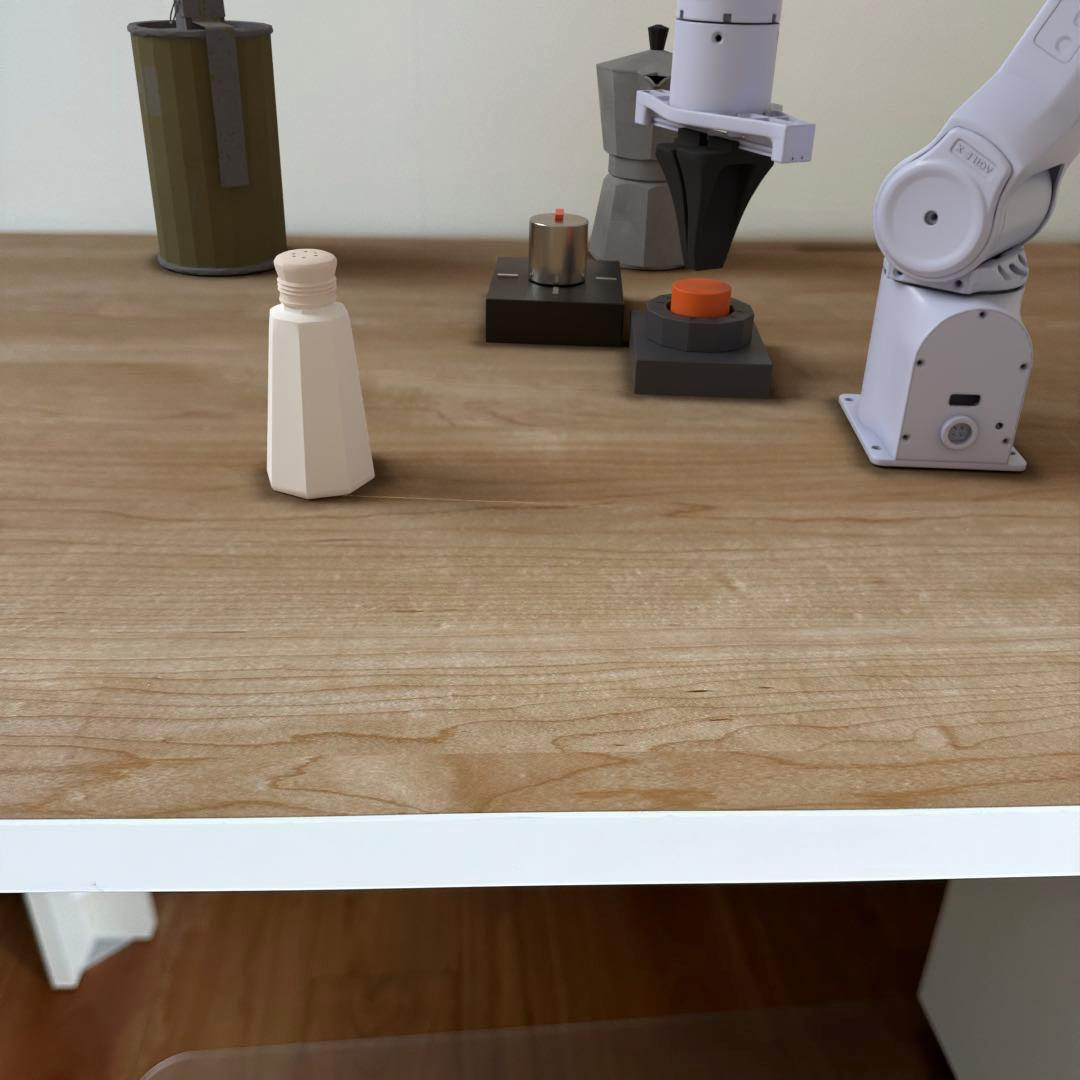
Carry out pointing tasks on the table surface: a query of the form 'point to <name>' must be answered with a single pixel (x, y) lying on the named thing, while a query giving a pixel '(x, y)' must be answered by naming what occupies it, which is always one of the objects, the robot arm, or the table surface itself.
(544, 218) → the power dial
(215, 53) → the canister
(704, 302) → the power button
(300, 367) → the pepper shaker
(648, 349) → the switch block
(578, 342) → the dial panel
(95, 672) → the table surface
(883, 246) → the robot arm
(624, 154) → the coffeepot
